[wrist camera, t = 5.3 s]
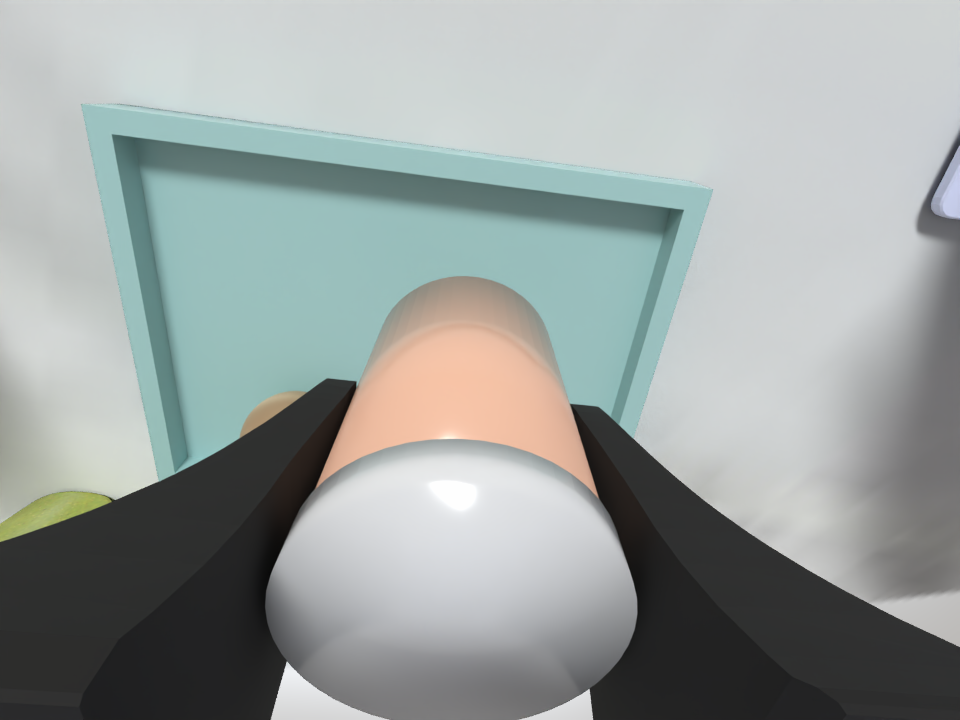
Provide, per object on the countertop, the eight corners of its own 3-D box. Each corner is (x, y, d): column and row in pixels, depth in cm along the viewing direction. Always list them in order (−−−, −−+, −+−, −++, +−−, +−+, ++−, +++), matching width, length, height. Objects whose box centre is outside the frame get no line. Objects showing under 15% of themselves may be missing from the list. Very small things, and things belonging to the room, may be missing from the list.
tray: (691, 181, 15) (713, 189, 13) (596, 496, 20) (605, 525, 19) (119, 103, 14) (81, 104, 12) (181, 458, 19) (159, 484, 18)
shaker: (576, 288, 12) (691, 513, 5) (533, 445, 14) (582, 739, 8) (380, 257, 11) (259, 458, 5) (366, 422, 14) (269, 711, 7)
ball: (356, 378, 17) (332, 434, 14) (355, 455, 18) (332, 520, 15) (259, 368, 17) (214, 422, 14) (265, 446, 18) (225, 510, 15)
